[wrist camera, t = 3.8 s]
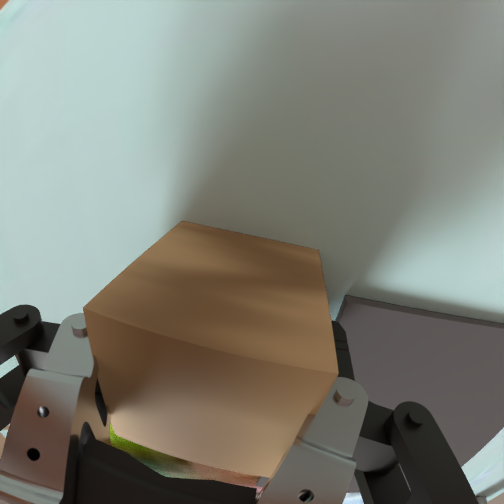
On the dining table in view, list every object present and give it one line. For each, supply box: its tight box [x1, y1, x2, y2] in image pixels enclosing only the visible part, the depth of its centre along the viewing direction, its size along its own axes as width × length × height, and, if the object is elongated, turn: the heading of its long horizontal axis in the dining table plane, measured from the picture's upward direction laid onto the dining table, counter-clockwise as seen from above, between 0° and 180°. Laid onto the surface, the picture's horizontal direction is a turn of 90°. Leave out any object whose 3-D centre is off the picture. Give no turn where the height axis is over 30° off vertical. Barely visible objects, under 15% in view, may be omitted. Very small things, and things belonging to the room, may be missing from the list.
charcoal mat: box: [256, 295, 504, 493], centre depth 14 cm, size 18×18×1 cm
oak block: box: [83, 221, 339, 478], centre depth 9 cm, size 5×5×6 cm
